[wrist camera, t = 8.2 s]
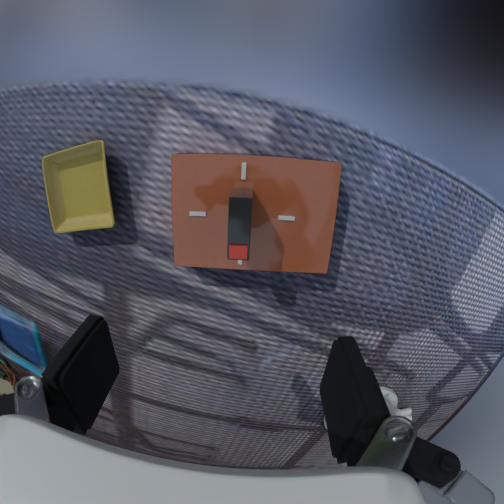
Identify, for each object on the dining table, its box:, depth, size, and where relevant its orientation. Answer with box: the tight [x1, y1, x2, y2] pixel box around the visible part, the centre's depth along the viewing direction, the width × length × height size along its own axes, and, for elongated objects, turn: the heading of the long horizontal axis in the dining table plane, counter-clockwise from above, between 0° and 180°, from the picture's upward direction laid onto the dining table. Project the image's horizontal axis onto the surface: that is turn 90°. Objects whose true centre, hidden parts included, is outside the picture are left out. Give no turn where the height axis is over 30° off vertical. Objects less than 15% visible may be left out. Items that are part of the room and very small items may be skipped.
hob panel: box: [172, 153, 342, 273], centre depth 25 cm, size 14×10×3 cm
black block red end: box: [227, 188, 253, 260], centre depth 21 cm, size 5×2×4 cm, turn 177°
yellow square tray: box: [42, 140, 115, 233], centre depth 24 cm, size 9×9×2 cm
